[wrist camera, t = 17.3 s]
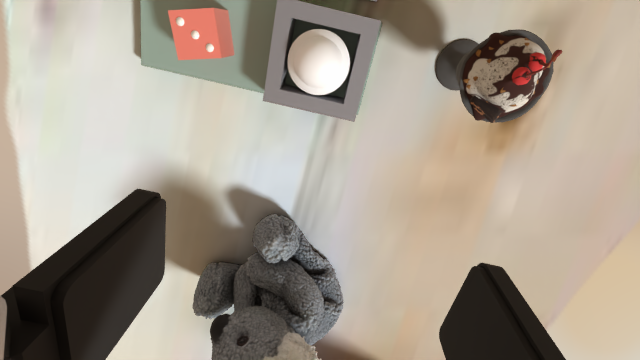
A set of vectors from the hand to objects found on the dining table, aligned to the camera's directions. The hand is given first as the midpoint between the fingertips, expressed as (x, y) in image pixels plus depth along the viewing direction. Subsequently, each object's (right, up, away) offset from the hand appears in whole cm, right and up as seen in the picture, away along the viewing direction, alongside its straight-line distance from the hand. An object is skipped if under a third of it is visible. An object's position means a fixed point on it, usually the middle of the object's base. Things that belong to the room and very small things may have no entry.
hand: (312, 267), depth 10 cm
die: (-10, +17, +22) cm, 30 cm away
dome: (0, +14, +22) cm, 26 cm away
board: (-6, +17, +24) cm, 30 cm away
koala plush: (-5, -11, +37) cm, 39 cm away
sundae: (+15, +14, +24) cm, 32 cm away
